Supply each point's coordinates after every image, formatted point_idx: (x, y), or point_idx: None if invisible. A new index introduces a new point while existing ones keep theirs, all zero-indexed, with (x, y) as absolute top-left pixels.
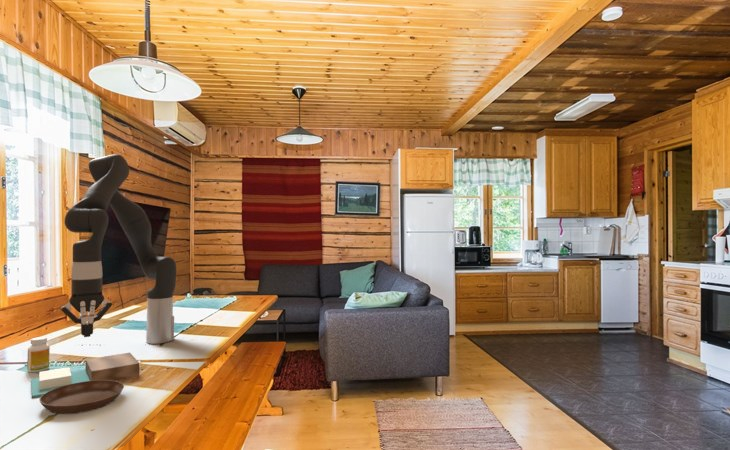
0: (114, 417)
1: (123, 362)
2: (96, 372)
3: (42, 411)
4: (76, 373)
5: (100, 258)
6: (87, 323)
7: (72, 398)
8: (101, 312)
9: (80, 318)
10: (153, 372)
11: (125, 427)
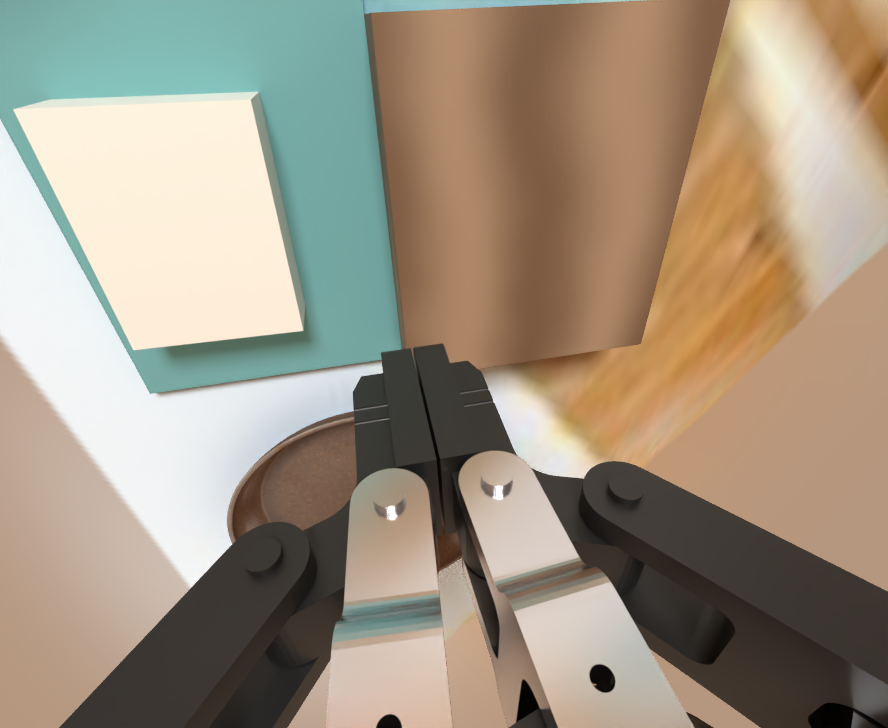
0: (445, 582)
1: (585, 289)
2: None
3: None
4: (304, 65)
5: None
6: (448, 490)
7: (334, 461)
8: (697, 667)
9: (353, 582)
10: (676, 272)
11: (458, 618)
